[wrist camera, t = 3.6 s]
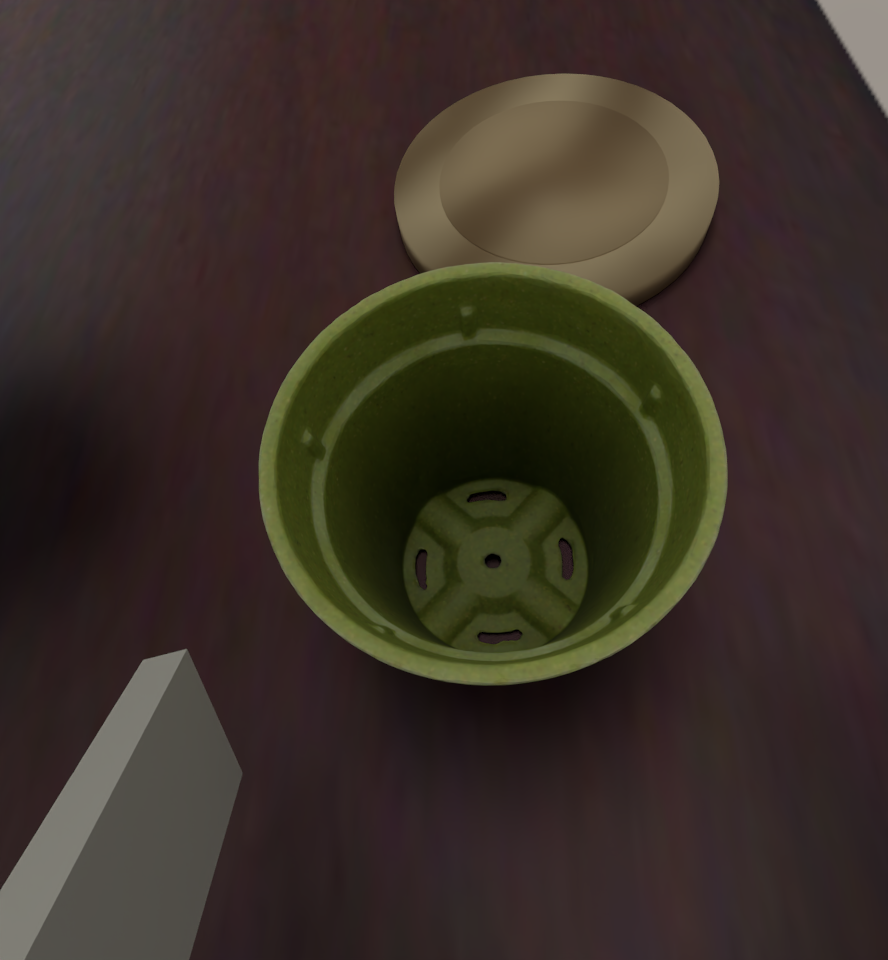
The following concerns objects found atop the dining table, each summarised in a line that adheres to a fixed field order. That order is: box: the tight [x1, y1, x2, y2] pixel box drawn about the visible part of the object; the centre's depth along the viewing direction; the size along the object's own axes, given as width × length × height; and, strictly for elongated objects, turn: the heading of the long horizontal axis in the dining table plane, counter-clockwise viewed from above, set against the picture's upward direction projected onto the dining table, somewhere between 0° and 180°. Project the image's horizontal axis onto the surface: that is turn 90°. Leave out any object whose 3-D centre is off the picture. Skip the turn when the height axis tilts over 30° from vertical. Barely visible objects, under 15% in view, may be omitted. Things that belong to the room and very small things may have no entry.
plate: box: [394, 74, 719, 306], centre depth 26 cm, size 13×13×1 cm
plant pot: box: [259, 262, 727, 686], centre depth 17 cm, size 9×9×9 cm
